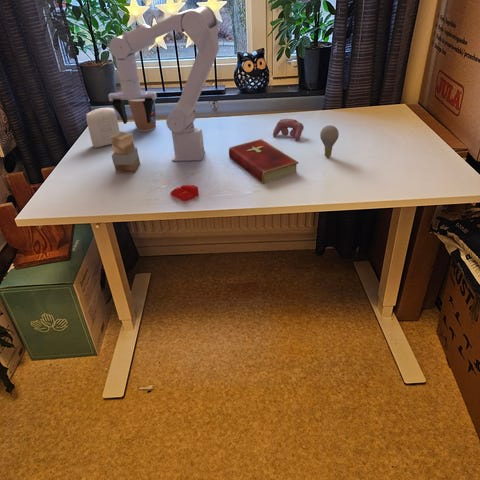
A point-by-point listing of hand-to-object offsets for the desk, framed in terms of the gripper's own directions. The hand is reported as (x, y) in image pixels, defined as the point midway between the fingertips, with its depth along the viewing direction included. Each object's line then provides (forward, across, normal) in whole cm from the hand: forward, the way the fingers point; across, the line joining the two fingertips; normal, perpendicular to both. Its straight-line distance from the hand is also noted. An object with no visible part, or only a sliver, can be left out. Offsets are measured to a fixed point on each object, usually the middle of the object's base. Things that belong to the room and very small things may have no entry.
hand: (137, 122), depth 141 cm
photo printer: (+11, +15, -9) cm, 20 cm away
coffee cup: (+11, +4, -23) cm, 25 cm away
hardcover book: (+11, -40, +12) cm, 43 cm away
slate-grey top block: (+8, +2, +12) cm, 14 cm away
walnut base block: (+11, +2, +12) cm, 16 cm away
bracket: (+11, -18, +29) cm, 36 cm away
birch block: (+5, +2, +12) cm, 13 cm away
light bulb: (+10, -60, +7) cm, 61 cm away
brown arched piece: (+11, -48, -10) cm, 51 cm away
